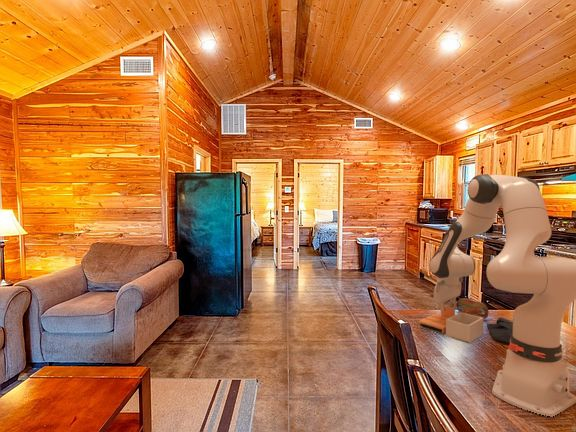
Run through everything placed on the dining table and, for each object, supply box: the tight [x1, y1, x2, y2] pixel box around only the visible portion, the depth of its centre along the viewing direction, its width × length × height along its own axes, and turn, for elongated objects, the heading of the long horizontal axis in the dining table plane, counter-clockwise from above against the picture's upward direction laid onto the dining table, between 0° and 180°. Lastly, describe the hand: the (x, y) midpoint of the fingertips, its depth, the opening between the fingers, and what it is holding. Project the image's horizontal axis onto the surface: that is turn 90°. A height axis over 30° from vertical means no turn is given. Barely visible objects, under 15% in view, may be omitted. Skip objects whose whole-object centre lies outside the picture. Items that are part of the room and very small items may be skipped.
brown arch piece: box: [456, 297, 489, 320], centre depth 153 cm, size 15×3×8 cm, turn 25°
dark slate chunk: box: [486, 317, 513, 345], centre depth 130 cm, size 15×22×5 cm
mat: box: [421, 324, 446, 336], centre depth 141 cm, size 16×12×1 cm
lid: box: [418, 305, 456, 333], centre depth 141 cm, size 17×11×6 cm, turn 129°
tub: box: [445, 312, 485, 344], centre depth 131 cm, size 14×9×7 cm, turn 129°
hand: (447, 308), depth 146 cm, fingers open, 8 cm apart
